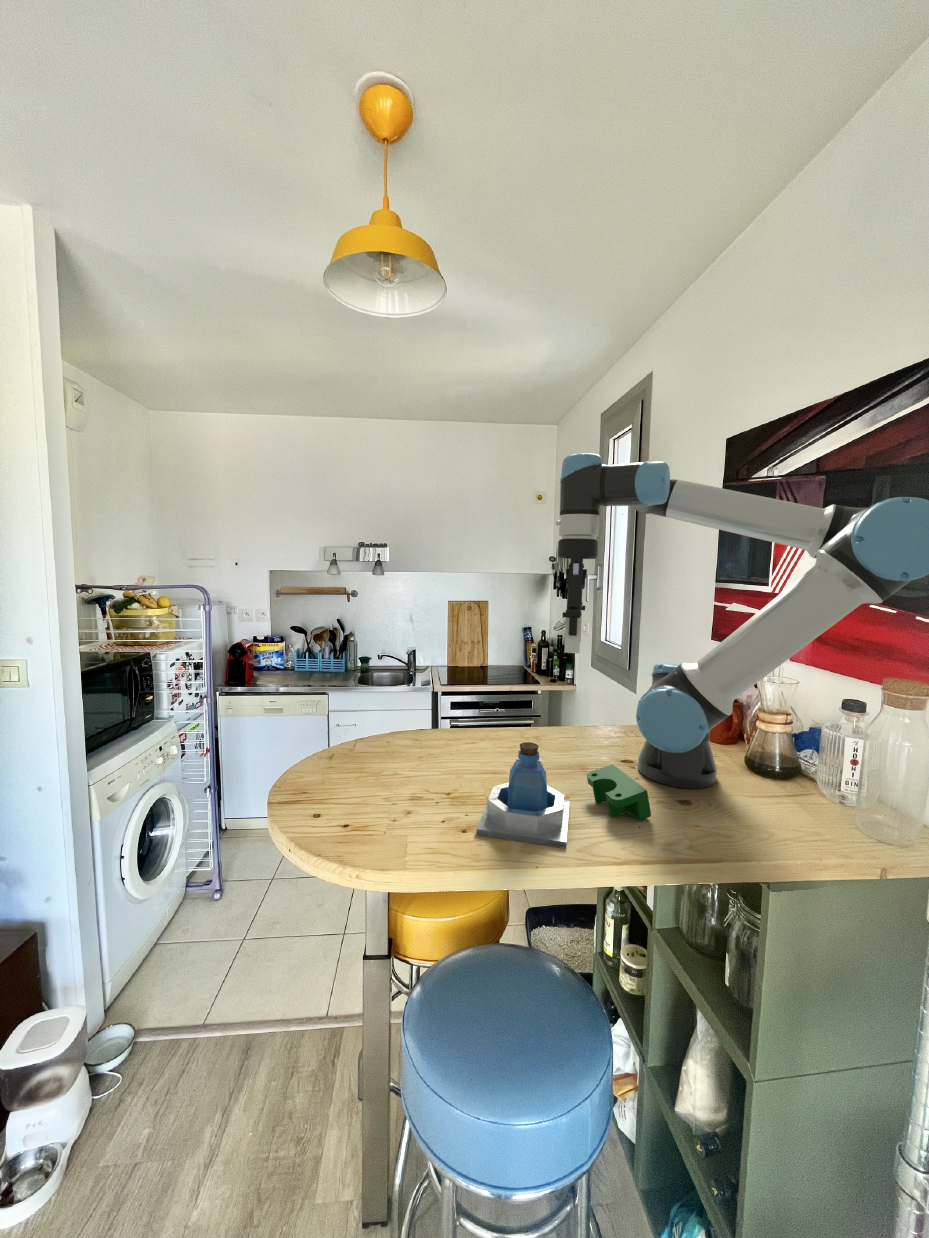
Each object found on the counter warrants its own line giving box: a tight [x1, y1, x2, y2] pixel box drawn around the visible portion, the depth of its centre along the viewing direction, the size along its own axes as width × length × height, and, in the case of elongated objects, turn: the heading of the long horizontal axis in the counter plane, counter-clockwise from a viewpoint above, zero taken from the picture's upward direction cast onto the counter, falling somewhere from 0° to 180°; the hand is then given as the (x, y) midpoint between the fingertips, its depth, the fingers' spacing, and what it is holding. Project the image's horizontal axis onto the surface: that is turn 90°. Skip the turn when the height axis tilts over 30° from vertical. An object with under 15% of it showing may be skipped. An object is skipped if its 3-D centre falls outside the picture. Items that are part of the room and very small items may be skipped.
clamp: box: [586, 763, 652, 822], centre depth 91 cm, size 12×6×9 cm, turn 8°
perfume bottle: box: [508, 741, 548, 812], centre depth 86 cm, size 6×6×12 cm
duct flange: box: [475, 782, 571, 849], centre depth 87 cm, size 14×14×4 cm
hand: (573, 647), depth 102 cm, fingers open, 13 cm apart
